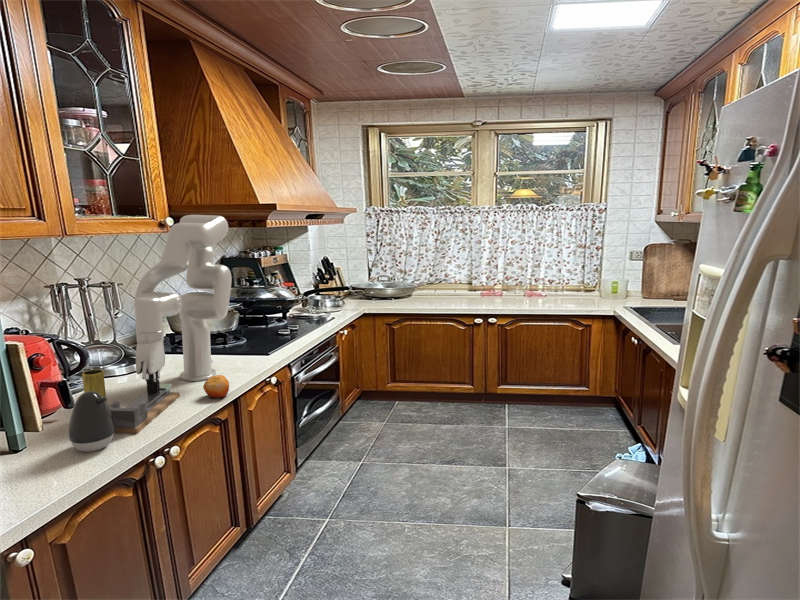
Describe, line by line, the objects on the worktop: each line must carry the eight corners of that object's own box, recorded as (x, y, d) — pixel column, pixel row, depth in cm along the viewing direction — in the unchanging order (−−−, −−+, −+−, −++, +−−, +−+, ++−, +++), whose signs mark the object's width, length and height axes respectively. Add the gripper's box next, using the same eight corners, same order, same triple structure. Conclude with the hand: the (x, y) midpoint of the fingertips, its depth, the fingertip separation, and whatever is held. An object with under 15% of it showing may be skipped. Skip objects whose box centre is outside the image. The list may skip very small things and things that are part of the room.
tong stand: (149, 396, 162) (148, 377, 161) (179, 396, 162) (178, 378, 161) (100, 433, 135) (98, 411, 134) (137, 433, 135) (135, 411, 134)
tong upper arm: (154, 388, 161) (154, 383, 161) (172, 388, 161) (172, 383, 161) (115, 417, 138) (115, 412, 138) (136, 417, 139) (136, 412, 138)
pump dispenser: (93, 459, 121) (87, 401, 118) (60, 453, 123) (54, 396, 121) (126, 441, 130) (122, 387, 128) (95, 436, 133) (90, 382, 130)
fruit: (234, 386, 169) (230, 371, 164) (228, 404, 163) (224, 389, 158) (210, 385, 169) (205, 370, 164) (204, 404, 163) (198, 389, 158)
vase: (81, 423, 141) (77, 375, 138) (88, 414, 146) (84, 369, 144) (105, 421, 142) (101, 374, 140) (111, 413, 148) (107, 367, 146)
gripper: (149, 330, 159) (152, 384, 162) (125, 341, 144) (129, 400, 147) (173, 330, 159) (175, 384, 162) (150, 342, 144) (154, 401, 147)
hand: (153, 392), depth 155 cm, fingers closed
